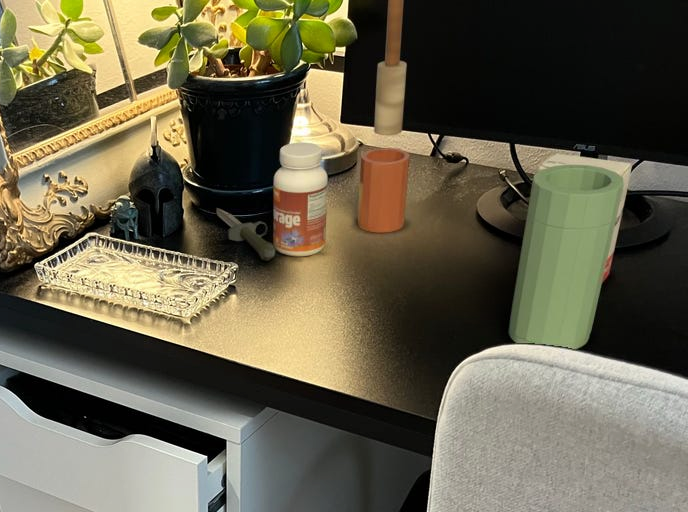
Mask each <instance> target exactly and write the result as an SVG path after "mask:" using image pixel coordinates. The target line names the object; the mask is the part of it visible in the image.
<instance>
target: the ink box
mask: <svg viewBox="0 0 688 512" xmlns="http://www.w3.org/2000/svg"><path fill="white" fill-rule="evenodd" d="M569 164H571V165H589V166H596V167H602V168H605V169H608V170H611V171H614V172H616V173H618V174H619V175H620V176H622V177H623V181H624V186H623V191H622V195H621V199H620V204H619V208H618V213H617V217H616V222H615V226H614V231H613V235H612V240H611V244H610V249H609V253H608V258H607V262H606V267H605V271H604V276H603V280H602V284H603V283H604V282H605V280H606V279H607V278H608V276H609V275H610V273H611V266H612V262H613V258H614V253H615V248H616V243H617V238H618V235H619V229H620V225H621V220H622V216H623V210H624V207H625V201H626V198H627V197H626V196H627V192H628V187H629V183H630V178H631V173H632V167H633V163H632V162H624V161H616V160H608V159H602V158H593V157H587V156H580V155H579V156H578V155H571V154H565V153H564V154H563V153H553V154H551V155H549V157H547V158H546V159H544V161H543V162H541V163H540V164H539V165H538V166H537V172H539V171H540V170H542V169H546V168H549V167H552V166H559V165H569ZM537 172H536V173H537Z"/></svg>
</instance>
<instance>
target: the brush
mask: <svg viewBox="0 0 688 512" xmlns="http://www.w3.org/2000/svg"><path fill="white" fill-rule="evenodd" d="M387 2H388V3H387V21H386V39H385V55H384V56H385V57H384V60H383V61H381V62H379V63H377V67H376V68H377V69H376V70H377V71H376V87H375V107H374V126H373V132H374V133H375V135H376V134H377V135H379V136H395V135H399V134H401V133H402V132H403V124H404V123H403V121H404V120H403V119H404V109H405V93H406V78H407V67H408V66H407V65H408V64H407V62H405V61H403V60H401V46H402V45H401V44H402V30H403V29H402V28H403V16H404V14H403V13H404V2H405V1H404V0H388V1H387Z"/></svg>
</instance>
